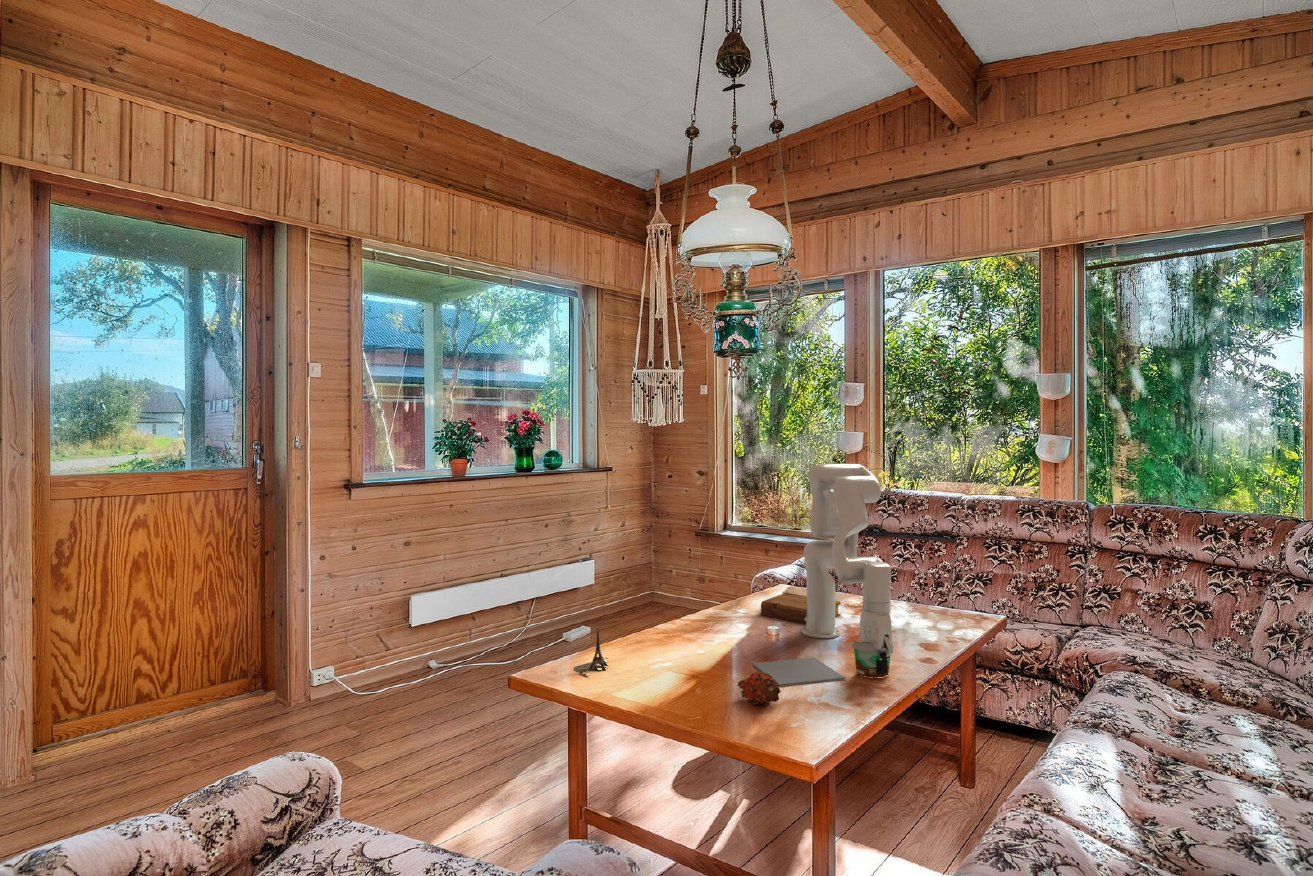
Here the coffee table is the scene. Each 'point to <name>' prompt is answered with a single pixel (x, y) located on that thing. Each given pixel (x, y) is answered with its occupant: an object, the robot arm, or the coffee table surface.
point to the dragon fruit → (760, 688)
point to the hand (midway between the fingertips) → (875, 669)
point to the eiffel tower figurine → (596, 660)
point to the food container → (867, 659)
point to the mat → (798, 671)
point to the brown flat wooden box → (789, 607)
